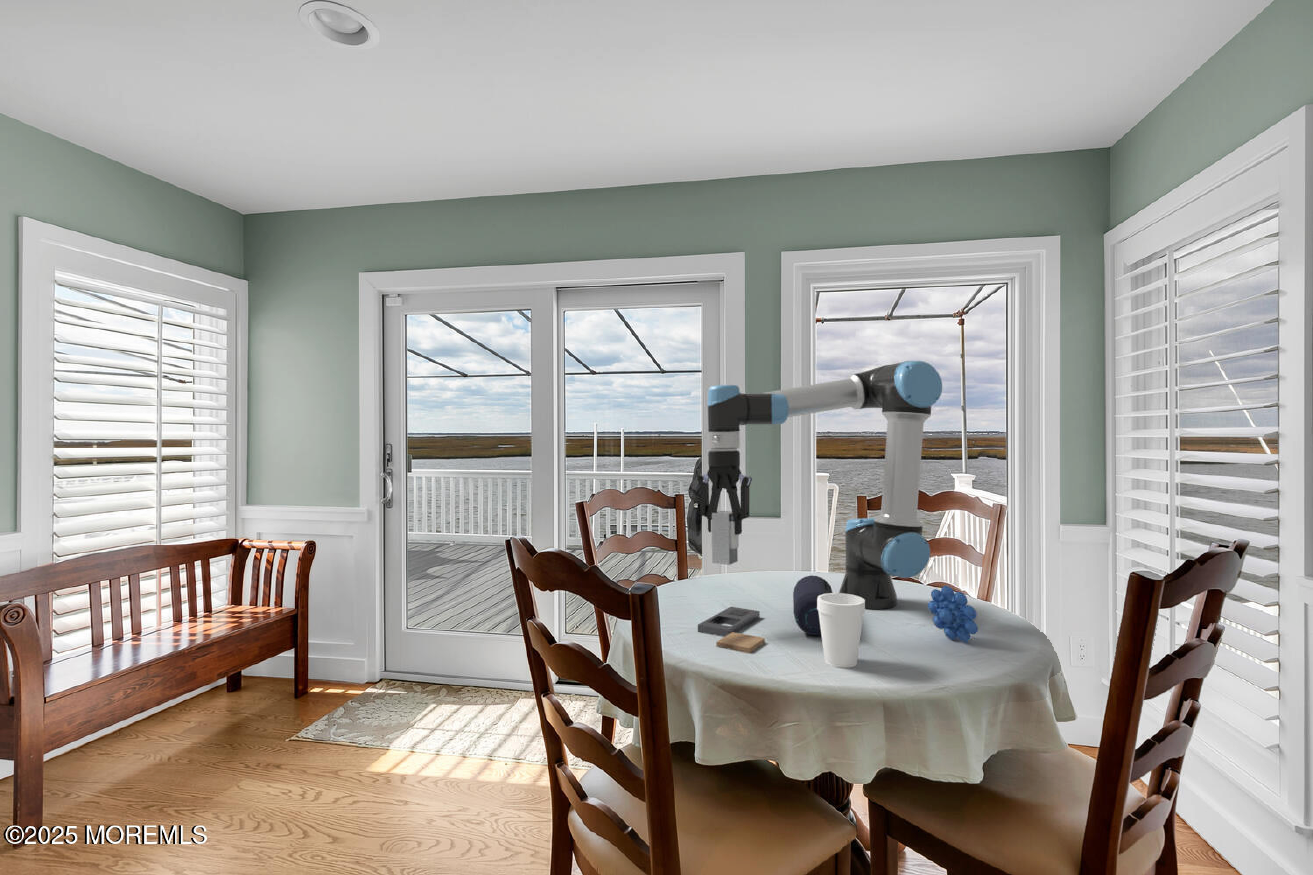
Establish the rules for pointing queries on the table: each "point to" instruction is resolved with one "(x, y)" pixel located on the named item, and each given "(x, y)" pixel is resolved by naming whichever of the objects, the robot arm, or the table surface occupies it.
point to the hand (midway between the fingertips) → (724, 546)
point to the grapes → (953, 614)
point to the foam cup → (840, 627)
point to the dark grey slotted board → (729, 621)
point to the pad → (741, 642)
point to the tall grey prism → (722, 538)
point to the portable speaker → (809, 603)
